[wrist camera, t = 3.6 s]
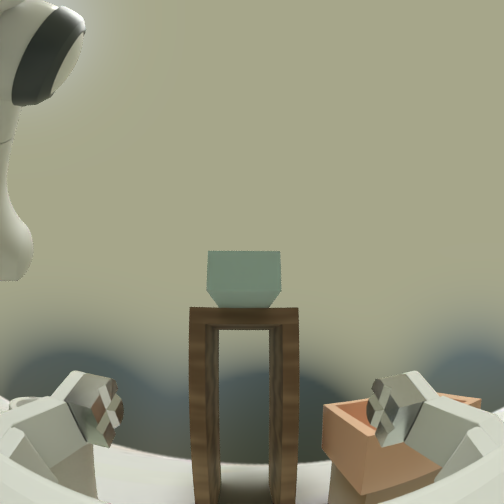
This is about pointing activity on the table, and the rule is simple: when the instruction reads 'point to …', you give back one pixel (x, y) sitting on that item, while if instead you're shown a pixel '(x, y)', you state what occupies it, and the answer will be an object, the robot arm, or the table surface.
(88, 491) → the coffee cup
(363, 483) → the bowl pedestal
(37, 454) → the robot arm
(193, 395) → the shelf stand
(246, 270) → the board
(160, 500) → the table surface
